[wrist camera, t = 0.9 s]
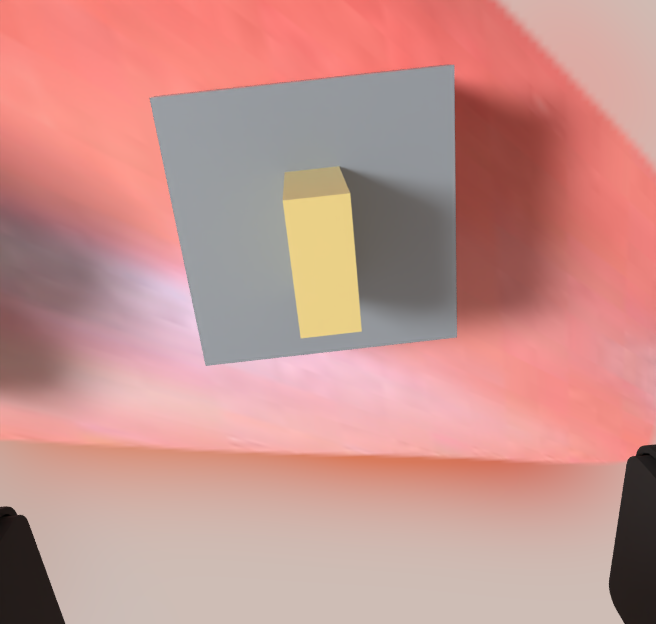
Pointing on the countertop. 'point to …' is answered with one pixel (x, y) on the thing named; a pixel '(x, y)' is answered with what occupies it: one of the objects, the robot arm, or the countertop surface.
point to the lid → (315, 211)
